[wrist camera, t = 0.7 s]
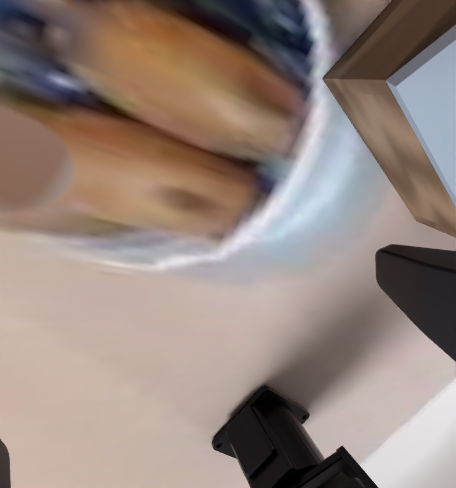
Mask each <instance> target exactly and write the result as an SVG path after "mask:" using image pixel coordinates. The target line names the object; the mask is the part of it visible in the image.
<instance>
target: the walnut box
mask: <svg viewBox="0 0 456 488" xmlns="http://www.w3.org/2000/svg"><path fill="white" fill-rule="evenodd" d="M455 25H456V0H392V1H391V2H390V4H389V5H388V6H387V7H386V8H385V9H384V10H383V11H382V12H381V14H380V15H379V16H378V17H377V18H376V19H375V20H374V21H373V23H372V24H371V25H370V26H369V27H368V28H367V29H366V30H365V32H364V33H363V34H362V35H361V36H360V37H359V38H358V39H357V40H356V42H355V43H354V44H353V45H352V46H351V47H350V48H349V49H348V51H347V52H346V53H345V54H344V55H343V56H342V57H341V58H340V60H339V61H338V62H337V63H336V64H335V65H334V66H333V67H332V68H331V70H330V71H329V72H328V73H327V74H326V75H325V76H324V77H323V80H324V82H325V83H326V85H327V86H328V88H329V89H330V91H331V92H332V94H333V95H334V97H335V98H336V100H337V102H338V103H339V105H340V106H341V108H342V109H343V111H344V112H345V114H346V115H347V117H348V118H349V120H350V121H351V123H352V124H353V126H354V127H355V129H356V130H357V132H358V133H359V135H360V136H361V138H362V139H363V141H364V142H365V144H366V145H367V147H368V148H369V150H370V151H371V153H372V154H373V156H374V157H375V159H376V160H377V162H378V163H379V165H380V166H381V168H382V169H383V171H384V172H385V174H386V175H387V177H388V178H389V180H390V182H391V183H392V185H393V186H394V188H395V189H396V191H397V192H398V194H399V195H400V197H401V198H402V200H403V201H404V203H405V204H406V206H407V207H408V209H409V210H410V212H411V213H412V215H413V216H414V218H415V219H416V221H418V222H420V223H423V224H425V225H427V226H430V227H432V228H435V229H437V230H439V231H442V232H444V233H447V234H449V235H451V236H454V237H456V207H455V205H454V203H453V202H452V200H451V198H450V196H449V194H448V193H447V191H446V189H445V187H444V185H443V184H442V182H441V180H440V178H439V176H438V174H437V173H436V171H435V169H434V167H433V165H432V164H431V162H430V160H429V158H428V156H427V155H426V153H425V151H424V149H423V147H422V146H421V144H420V142H419V140H418V138H417V136H416V135H415V133H414V131H413V129H412V127H411V126H410V124H409V122H408V120H407V118H406V117H405V115H404V113H403V111H402V109H401V107H400V106H399V104H398V102H397V100H396V98H395V97H394V95H393V93H392V91H391V89H390V88H389V86H388V84H387V82H386V80H387V79H388V78H389V77H391V76H392V75H393V74H394V73H396V72H397V71H398V70H399V69H401V68H402V67H403V66H404V65H406V64H407V63H408V62H409V61H411V60H412V59H413V58H415V57H416V56H417V55H418V54H420V53H421V52H422V51H423V50H425V49H426V48H427V47H428V46H430V45H431V44H432V43H433V42H435V41H436V40H437V39H438V38H440V37H441V36H442V35H443V34H445V33H446V32H447V31H448V30H450V29H451V28H452V27H453V26H455Z"/></svg>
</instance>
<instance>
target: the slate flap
mask: <svg viewBox="0 0 456 488" xmlns="http://www.w3.org/2000/svg"><path fill="white" fill-rule="evenodd" d="M386 82H387V84H388V86H389V88H390V89H391V91H392V93H393V95H394V97H395V98H396V100H397V102H398V104H399V106H400V107H401V109H402V111H403V113H404V115H405V117H406V118H407V120H408V122H409V124H410V126H411V127H412V129H413V131H414V133H415V135H416V136H417V138H418V140H419V142H420V144H421V146H422V147H423V149H424V151H425V153H426V155H427V156H428V158H429V160H430V162H431V164H432V165H433V167H434V169H435V171H436V173H437V174H438V176H439V178H440V180H441V182H442V184H443V185H444V187H445V189H446V191H447V193H448V194H449V196H450V198H451V200H452V202H453V203H454V205H455V207H456V25H455V26H453V27H452V28H451V29H450V30H448V31H447V32H446V33H445V34H443V35H442V36H441V37H440V38H438V39H437V40H436V41H435V42H433V43H432V44H431V45H430V46H428V47H427V48H426V49H425V50H423V51H422V52H421V53H420V54H418V55H417V56H416V57H415V58H413V59H412V60H411V61H409V62H408V63H407V64H406V65H404V66H403V67H402V68H401V69H399V70H398V71H397V72H396V73H394V74H393V75H392V76H391V77H389V78H388V79H387V80H386Z"/></svg>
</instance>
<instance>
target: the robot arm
mask: <svg viewBox="0 0 456 488" xmlns="http://www.w3.org/2000/svg"><path fill="white" fill-rule="evenodd" d="M375 261H376V279H377V282H378V285H379V286H380V288H381V289H382V290H383V291H384V292H385V293H386V294H387V295H388V296H389V297H390V298H391V299H392V301H393V302H394V303H395V304H396V305H397V306H398V307H399V308H400V309H401V310H402V311H403V312H404V313H405V314H406V315H407V317H408V318H409V319H410V320H411V321H412V322H413V323H414V324H415V325H416V326H417V327H418V328H419V329H420V330H421V331H422V332H423V333H424V334H425V335H426V336H427V337H428V338H429V339H431V340H432V341H433V342H434V343H435V344H436V345H437V346H438V347H440V348H441V349H442V350H443V351H444V352H445V353H446V354H448V355H449V356H450V357H451V358H452V359H453V360H454V361H456V251H449V250H440V249H431V248H422V247H413V246H405V245H396V244H391V245H388V246H386V247H383V248H381V249H379V250H378V251H377V252H376V255H375ZM309 416H310V414H309V412H308V411H307V410H306V409H305V408H303V407H302V406H300V405H298V404H297V403H295V402H293V401H292V400H290V399H288V398H286V397H285V396H283V395H281V394H280V393H278V392H276V391H275V390H273V389H271V388H270V387H268V386H264V387H262V388H261V389H260V390H259V391H258V392H257V393H256V394H255V395H254V396H253V397H252V398H251V400H250V401H249V402H248V403H247V404H246V405H245V406H244V407H243V408H242V409H241V410H240V411H239V412H238V414H237V415H236V416H235V417H234V418H233V419H232V420H231V421H230V422H229V423H228V424H227V425H226V426H225V428H224V429H223V430H222V431H221V432H220V433H219V434H218V435H217V436H216V437H215V438H214V439H213V441H212V446H213V449H214V450H216V451H219V452H221V453H224V454H226V455H229V456H231V457H234V458H236V459H237V460H238V462H239V464H240V467H241V469H242V471H243V473H244V475H245V477H246V479H247V481H248V483H249V486H250V488H378V487H377V485H376V484H375V483H374V482H373V481H372V480H371V478H369V476H368V475H367V474H366V473H365V471H364V470H363V469H362V468H361V467H360V466H359V464H358V463H357V462H356V461H355V460H354V459H353V457H352V456H351V455H350V454H349V453H348V452H347V450H346V449H345V448H344V447H343V446H341V447H340V448H338V449H337V450H336V452H335V453H333V454H332V455H331V456H329V457H328V458H326V459H325V458H324V457H323V455H322V454H321V453H320V451H319V450H318V448H317V447H316V445H315V444H314V442H313V441H312V439H311V438H310V436H309V435H308V433H307V432H306V430H305V429H304V427H303V426H302V424H303V423H304V422H305V421H306V420H307V419H308V418H309ZM0 488H11V482H10V458H9V453H8V450H7V447H6V446H5V444H4V443H3V442H2V440H1V439H0Z"/></svg>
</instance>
